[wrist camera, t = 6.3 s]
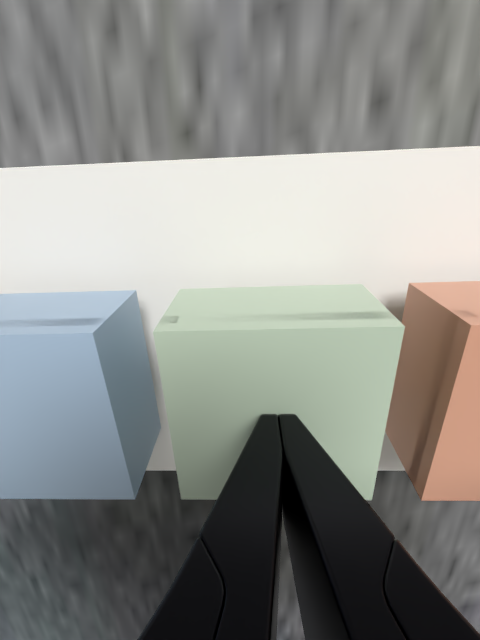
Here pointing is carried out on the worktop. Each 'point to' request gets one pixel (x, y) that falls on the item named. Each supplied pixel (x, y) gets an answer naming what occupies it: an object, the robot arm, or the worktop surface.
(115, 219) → the keypad
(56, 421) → the key blue
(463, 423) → the key terracotta
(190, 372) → the key sage
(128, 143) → the worktop surface
